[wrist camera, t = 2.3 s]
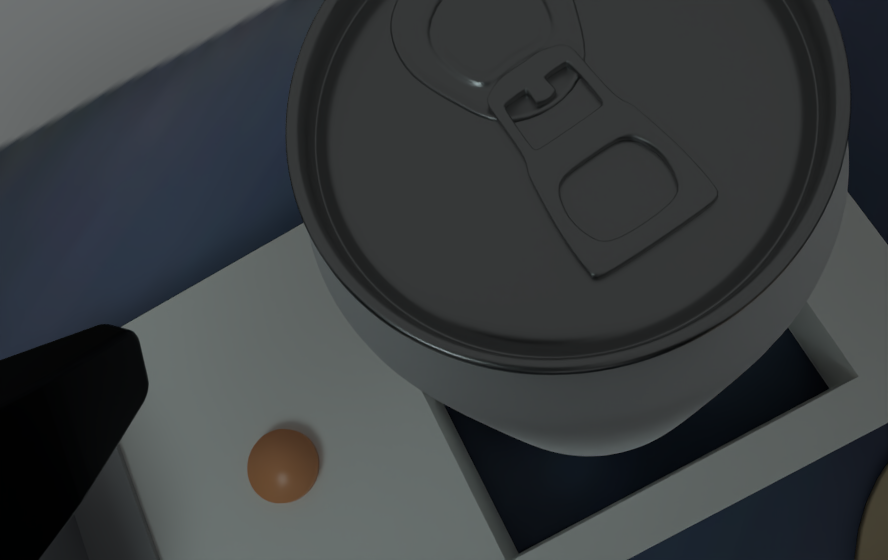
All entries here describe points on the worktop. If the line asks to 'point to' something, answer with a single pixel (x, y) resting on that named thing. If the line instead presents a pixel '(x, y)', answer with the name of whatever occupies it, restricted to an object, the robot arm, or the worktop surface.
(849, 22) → the worktop surface
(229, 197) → the worktop surface
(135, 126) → the worktop surface
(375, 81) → the can
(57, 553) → the block
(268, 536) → the strip dock
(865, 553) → the cork coaster
